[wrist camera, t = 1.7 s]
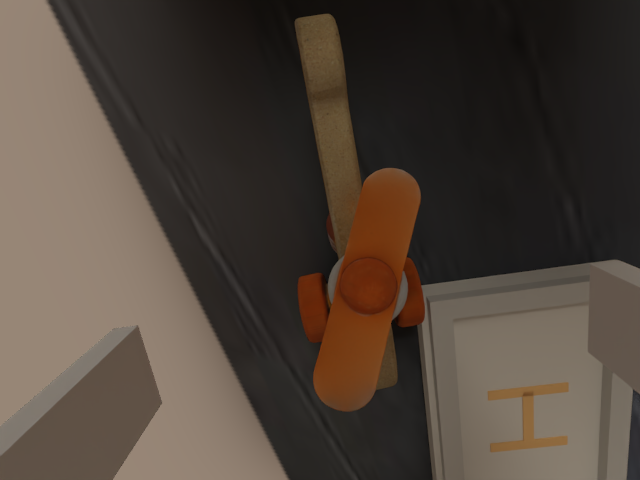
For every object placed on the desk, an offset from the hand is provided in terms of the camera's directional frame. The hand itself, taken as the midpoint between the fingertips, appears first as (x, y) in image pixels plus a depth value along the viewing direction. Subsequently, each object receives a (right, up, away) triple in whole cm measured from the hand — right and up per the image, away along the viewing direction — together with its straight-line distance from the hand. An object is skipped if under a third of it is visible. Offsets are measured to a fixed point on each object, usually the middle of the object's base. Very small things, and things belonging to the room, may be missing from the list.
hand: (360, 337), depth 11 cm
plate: (+15, -11, +20) cm, 27 cm away
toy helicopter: (+1, +5, +17) cm, 17 cm away
